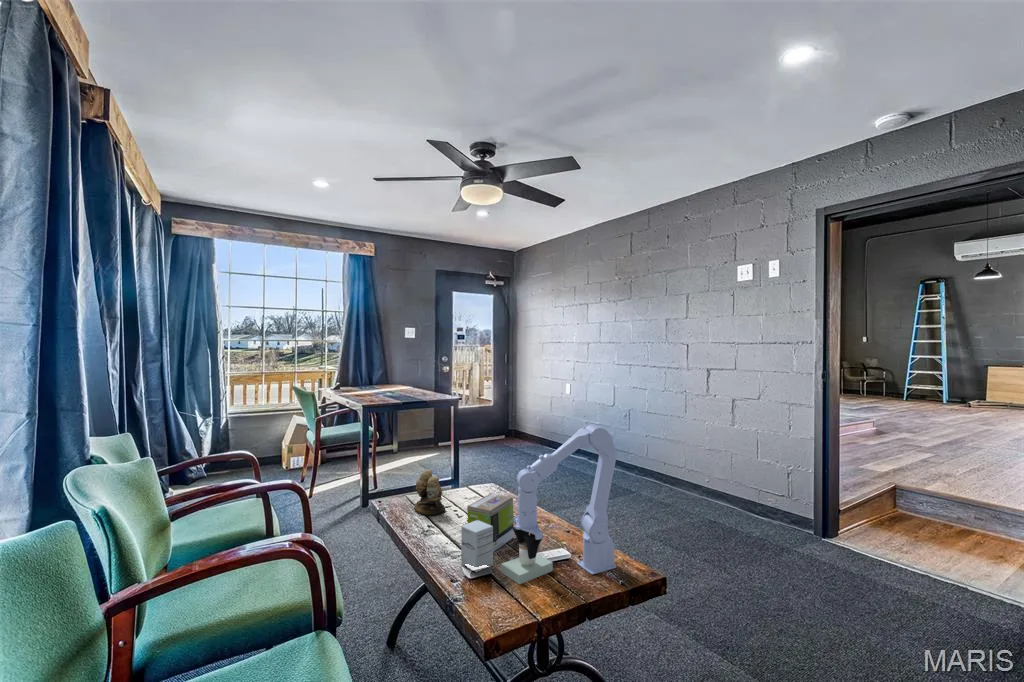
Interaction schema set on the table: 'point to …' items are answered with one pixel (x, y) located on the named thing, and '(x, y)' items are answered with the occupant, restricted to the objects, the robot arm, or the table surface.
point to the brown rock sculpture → (429, 495)
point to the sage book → (526, 569)
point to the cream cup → (525, 554)
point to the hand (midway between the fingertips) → (527, 554)
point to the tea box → (494, 516)
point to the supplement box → (477, 544)
